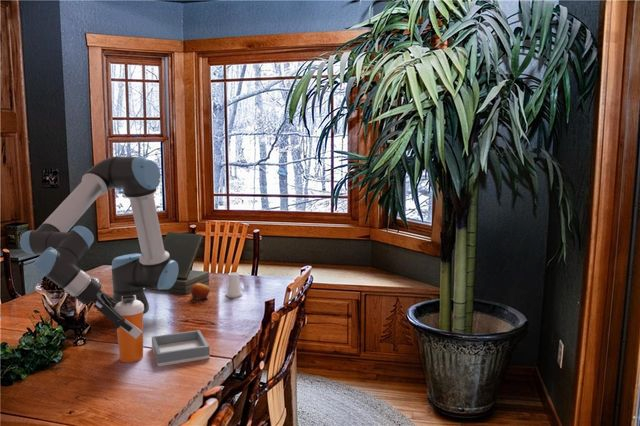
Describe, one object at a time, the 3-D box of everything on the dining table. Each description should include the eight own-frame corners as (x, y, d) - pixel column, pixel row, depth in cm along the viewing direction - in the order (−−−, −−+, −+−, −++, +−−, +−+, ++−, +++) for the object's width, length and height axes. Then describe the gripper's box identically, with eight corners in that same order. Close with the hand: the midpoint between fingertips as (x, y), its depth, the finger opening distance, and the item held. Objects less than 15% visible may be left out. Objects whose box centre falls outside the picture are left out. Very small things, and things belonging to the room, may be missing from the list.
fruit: (184, 297, 231) (189, 280, 234) (194, 302, 238) (199, 285, 241) (200, 300, 228) (205, 282, 231) (209, 304, 235) (214, 287, 238)
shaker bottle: (118, 366, 166) (115, 303, 163) (115, 355, 173) (111, 296, 171) (148, 360, 170) (145, 299, 167) (143, 350, 178) (140, 292, 175)
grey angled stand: (144, 290, 250) (142, 237, 246) (170, 279, 268) (168, 230, 264) (186, 295, 242) (184, 240, 238) (209, 284, 260) (208, 233, 256)
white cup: (246, 294, 242) (245, 272, 240) (234, 298, 235) (234, 276, 234) (233, 291, 246) (232, 270, 244) (222, 295, 240) (221, 274, 238)
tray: (152, 348, 180) (151, 336, 179) (199, 340, 186) (199, 329, 186) (158, 366, 165) (157, 354, 165) (209, 358, 172) (209, 346, 171)
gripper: (74, 286, 174) (126, 324, 182) (73, 308, 151) (131, 351, 159) (91, 269, 175) (141, 307, 183) (92, 288, 152) (149, 331, 160)
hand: (137, 328), depth 171 cm, fingers open, 13 cm apart
